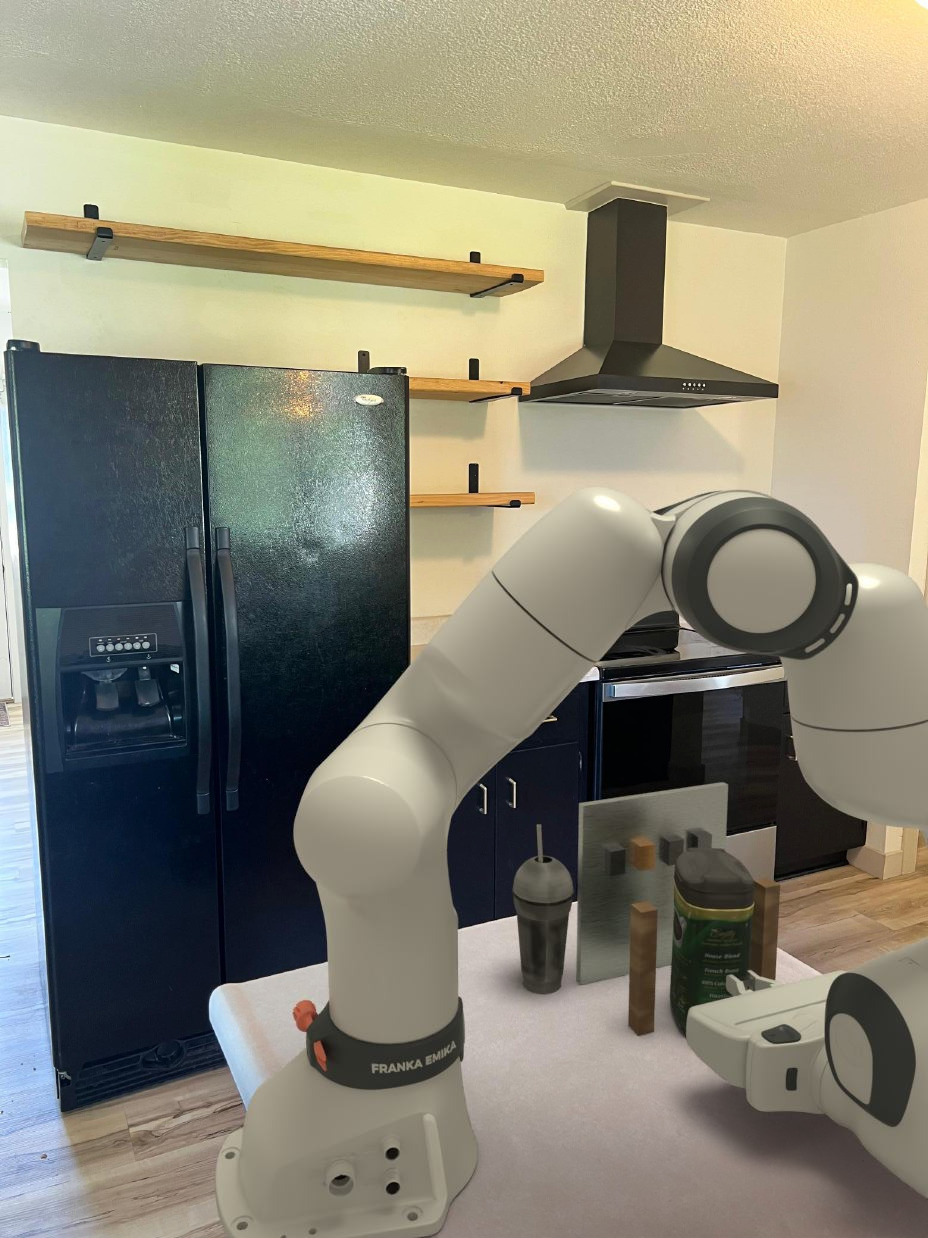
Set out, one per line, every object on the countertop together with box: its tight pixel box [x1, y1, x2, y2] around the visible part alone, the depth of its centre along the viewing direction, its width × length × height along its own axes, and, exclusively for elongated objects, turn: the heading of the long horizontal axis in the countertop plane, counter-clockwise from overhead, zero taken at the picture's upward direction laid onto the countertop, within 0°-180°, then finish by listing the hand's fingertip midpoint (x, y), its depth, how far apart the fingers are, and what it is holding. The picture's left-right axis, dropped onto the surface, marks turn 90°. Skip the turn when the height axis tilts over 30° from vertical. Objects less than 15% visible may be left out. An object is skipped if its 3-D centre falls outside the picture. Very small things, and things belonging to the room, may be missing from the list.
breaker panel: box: [575, 781, 729, 986], centre depth 107 cm, size 20×2×22 cm, turn 111°
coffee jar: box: [669, 848, 754, 1033], centre depth 97 cm, size 10×8×19 cm
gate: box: [627, 877, 781, 1037], centre depth 99 cm, size 18×2×14 cm, turn 111°
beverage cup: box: [511, 823, 575, 995], centre depth 104 cm, size 7×7×20 cm
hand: (737, 979), depth 94 cm, fingers closed, pressing on coffee jar
